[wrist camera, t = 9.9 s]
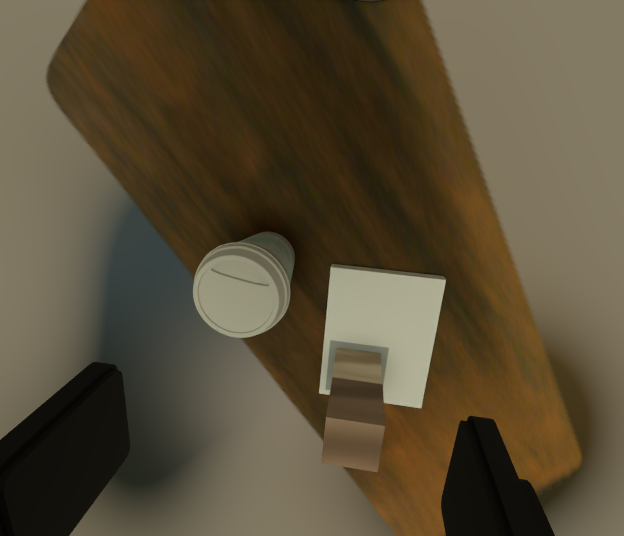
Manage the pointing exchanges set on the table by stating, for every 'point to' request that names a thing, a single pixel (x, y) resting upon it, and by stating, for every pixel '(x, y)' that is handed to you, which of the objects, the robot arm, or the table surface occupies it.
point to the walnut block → (354, 424)
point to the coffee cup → (245, 284)
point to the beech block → (357, 365)
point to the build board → (384, 325)
